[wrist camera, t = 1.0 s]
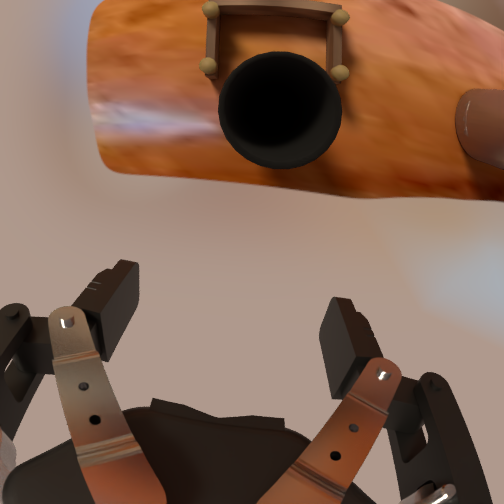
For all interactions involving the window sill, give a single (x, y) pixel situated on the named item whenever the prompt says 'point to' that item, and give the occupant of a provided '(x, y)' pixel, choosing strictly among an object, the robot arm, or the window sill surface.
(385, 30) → the window sill surface
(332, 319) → the robot arm
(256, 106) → the cup
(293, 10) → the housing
